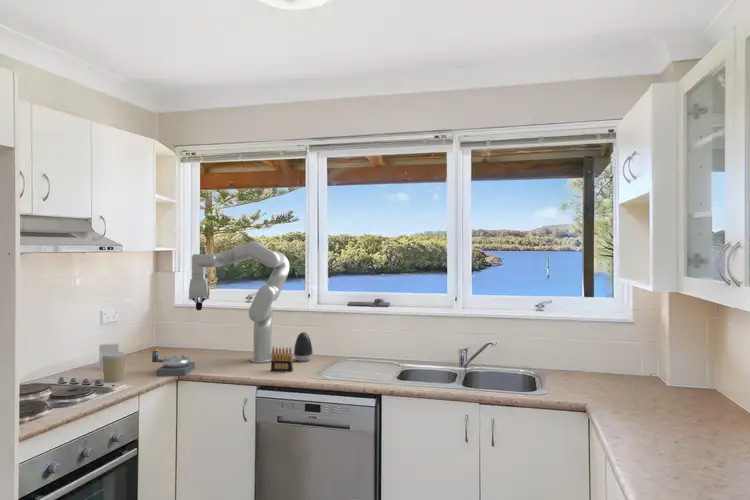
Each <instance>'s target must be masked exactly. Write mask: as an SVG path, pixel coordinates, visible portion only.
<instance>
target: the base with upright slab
mask: <svg viewBox="0 0 750 500" xmlns="http://www.w3.org/2000/svg"><path fill="white" fill-rule="evenodd" d="M98 350H99V358H98V359H99V360H98V361H99V362H98V363H99V364H98V365H99V366H98V369H99V370H101V371H103V358H102V356H103V355H104V354H107V353H113V352H120V343H119V342H117V343H104V344H103V343H100V344H99V349H98Z"/></svg>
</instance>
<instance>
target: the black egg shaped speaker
mask: <svg viewBox="0 0 750 500" xmlns="http://www.w3.org/2000/svg"><path fill="white" fill-rule="evenodd" d="M313 351H314V350H313V345H312V341H311V338H310V336H309V334H308V333H306V332H305V331H304V332H300V333H299V334H298V335H297V337H296V340H295V343H294V347H293V355H294V358H295V359H296V361H298V362H308V361H309V360H311V358H312V356H313Z"/></svg>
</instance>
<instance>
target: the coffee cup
mask: <svg viewBox="0 0 750 500" xmlns="http://www.w3.org/2000/svg"><path fill="white" fill-rule="evenodd" d="M102 358H103V370H102V371H103V380H104V383H117V382H121V381H123V380H124V374H125V362H126V361H125V359H126V353H125V352H122V351H119V352H113V353H107V354H104V355H103V356H102Z"/></svg>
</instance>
